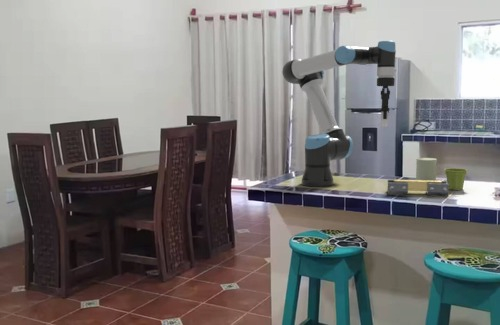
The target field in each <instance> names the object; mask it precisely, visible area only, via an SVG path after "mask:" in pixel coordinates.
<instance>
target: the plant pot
mask: <svg viewBox="0 0 500 325" xmlns="http://www.w3.org/2000/svg"><path fill="white" fill-rule="evenodd" d="M443 170H444V172H445V175H446V176H445V177H446V181H447V184H449V190H453V191H461V190H463V189H464V183H465V178H466V175H467V172H468V169H465V168H451V167H450V168H444V169H443Z"/></svg>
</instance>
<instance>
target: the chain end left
mask: <svg viewBox="0 0 500 325" xmlns="http://www.w3.org/2000/svg"><path fill="white" fill-rule="evenodd" d="M394 180H395V179H387V195H391V196H392V195H394V196H408V194H409V191H408V183H394Z"/></svg>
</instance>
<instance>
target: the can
mask: <svg viewBox="0 0 500 325" xmlns="http://www.w3.org/2000/svg"><path fill="white" fill-rule="evenodd" d="M437 160H438V159H437V158H436V157H435V158H433V157H417V158H416V161H415V162H416V164H415V165H416V167H415V168H416V171H415V172H416V173H415V180H435V181H437V163H438V162H437Z"/></svg>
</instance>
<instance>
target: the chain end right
mask: <svg viewBox="0 0 500 325" xmlns="http://www.w3.org/2000/svg"><path fill="white" fill-rule="evenodd" d="M441 181H442V184H437V183H428V191H425V193H426V194H427V196H429V197H430V196H433V197H449V194H450V193H449V190H450V189H449V184H447V180H441Z"/></svg>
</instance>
